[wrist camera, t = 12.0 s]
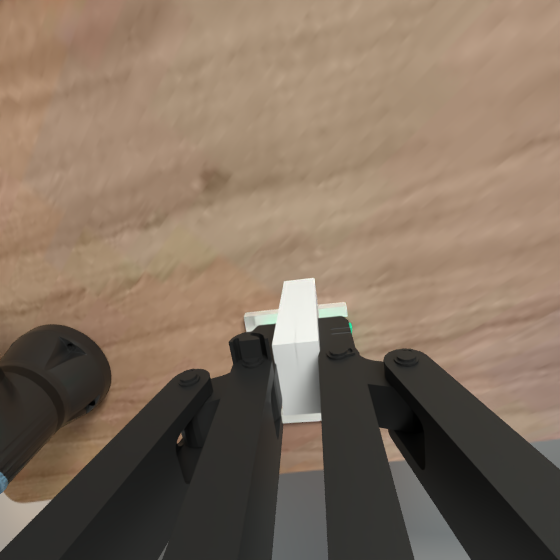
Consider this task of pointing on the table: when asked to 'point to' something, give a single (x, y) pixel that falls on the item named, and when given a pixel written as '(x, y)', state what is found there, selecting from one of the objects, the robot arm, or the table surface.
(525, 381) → the table surface
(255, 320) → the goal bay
